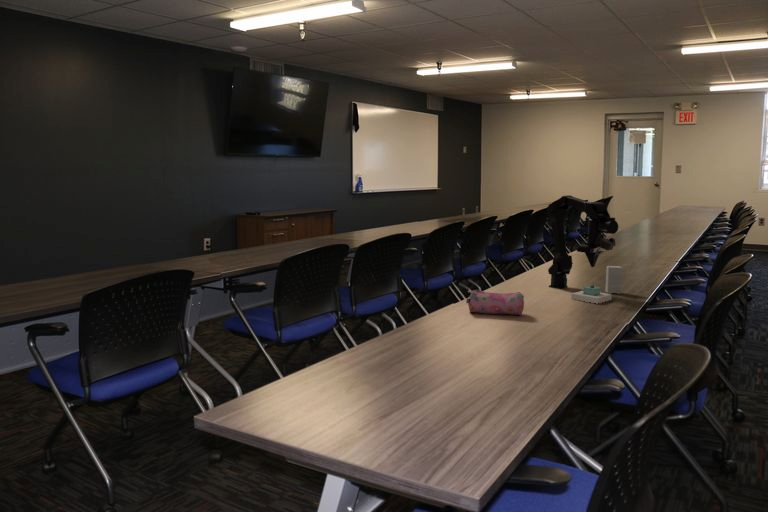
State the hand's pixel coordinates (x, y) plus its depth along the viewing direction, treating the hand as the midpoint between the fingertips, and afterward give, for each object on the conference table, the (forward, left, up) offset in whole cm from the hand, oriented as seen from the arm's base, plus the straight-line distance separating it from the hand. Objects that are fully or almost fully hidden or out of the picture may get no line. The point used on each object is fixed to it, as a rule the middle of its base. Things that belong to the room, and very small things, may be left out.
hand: (592, 266), depth 265 cm
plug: (+4, -7, -13) cm, 15 cm away
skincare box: (+3, +14, -13) cm, 19 cm away
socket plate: (+4, -7, -13) cm, 15 cm away
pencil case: (-8, -59, -13) cm, 61 cm away
